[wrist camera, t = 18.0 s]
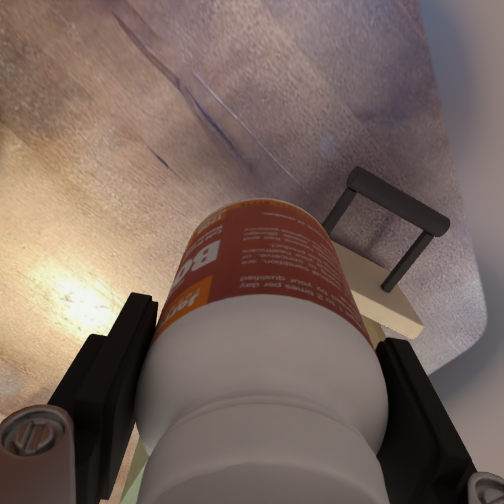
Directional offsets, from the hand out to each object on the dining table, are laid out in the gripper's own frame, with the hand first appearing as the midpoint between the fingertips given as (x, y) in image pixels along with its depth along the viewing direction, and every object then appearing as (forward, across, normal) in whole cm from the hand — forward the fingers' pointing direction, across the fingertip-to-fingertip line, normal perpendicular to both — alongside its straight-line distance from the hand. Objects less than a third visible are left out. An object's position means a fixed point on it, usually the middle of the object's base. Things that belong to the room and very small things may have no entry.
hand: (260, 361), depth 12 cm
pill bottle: (+6, 0, 0) cm, 6 cm away
